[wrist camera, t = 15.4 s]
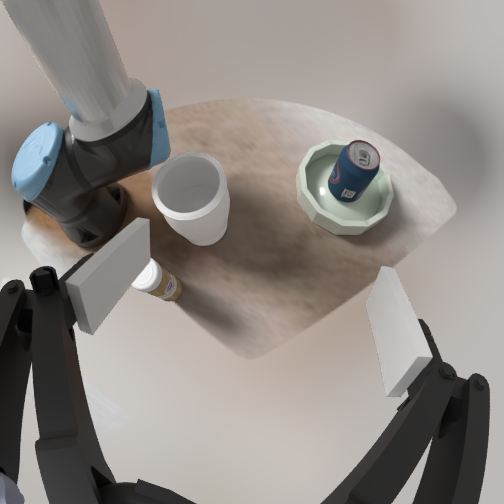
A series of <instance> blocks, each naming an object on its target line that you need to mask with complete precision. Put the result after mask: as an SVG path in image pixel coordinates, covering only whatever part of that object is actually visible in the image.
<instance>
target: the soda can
mask: <svg viewBox="0 0 504 504" xmlns="http://www.w3.org/2000/svg"><path fill="white" fill-rule="evenodd" d="M379 168H380V155H379V153H378V151H377V150H376V148H375V147H374V146H372V145H371V144H370V143H368V142H365V141H362V140H355V141H352V142H351V143H350V144H348V145H346V146H345V147H344V148H343V149H342V151H341V153H340V155H339V157H338V159H337V162H336V164H335V166H334V168H333V170H332V172H331V174H330V176H329V179H328V188H329V190H330V192H331V194H332V195H333V196H334V197H335V198H336V199H337V200H339V201H341V202H346V203H350V202H354V201H356V200H358V199H359V198H360V197H361V195H362V194H363V193H364V191H365V190H366V188H367V187H368V186H369V184H370V183H371V182H372V180H373V179H374V177H375V176H376V175H377V173H378V172H379Z"/></svg>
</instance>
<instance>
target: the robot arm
mask: <svg viewBox="0 0 504 504" xmlns="http://www.w3.org/2000/svg"><path fill="white" fill-rule="evenodd" d="M2 2H3V4H4V6H5V8H6V10H7V12H8V13H9V15H10V17H11V19H12V21H13V22H14V24H15V26H16V28H17V29H18V31H19V33H20V35H21V36H22V38H23V40H24V42H25V43H26V45H27V47H28V48H29V50H30V52H31V53H32V55H33V56H34V58H35V60H36V61H37V63H38V65H39V66H40V68H41V69H42V71H43V72H44V74H45V75H46V77H47V78H48V80H49V82H50V83H51V85H52V86H53V88H54V89H55V91H56V92H57V94H58V95H59V96H60V98H61V100H62V101H63V102H64V104H65V105H66V107H67V108H68V110H69V111H70V112H71V114H72V115H71V118H70V122H69V126H68V127H66V128H64V129H62V128H61V126H60V125H59V124H56V123H52V122H49V123H45V124H43V125H42V126H40V127H39V128H37V129H36V130H35V131H34V132H33V133H32V134H31V135H30V136H29V137H28V138H27V139H26V141H25V142H24V143H23V145H22V147H21V149H20V150H19V152H18V154H17V156H16V159H15V161H14V165H13V169H12V183H13V186H14V188H15V190H16V191H17V192H18V193H19V194H20V195H22V196H23V198H24V199H25V200H26V201H28V202H29V203H31V204H32V205H34V206H35V207H37V208H38V209H40V210H41V211H43V212H44V213H46V214H47V215H49V216H51V217H52V218H54V219H55V220H57V221H58V222H59V224H60V226H61V228H62V229H63V231H64V233H65V234H66V236H67V237H68V238H69V239H70V240H71V241H72V242H74V243H76V244H77V245H79V246H82V247H95V246H98V245H101V244H103V243H104V242H106V241H107V240H109V239H110V238H111V237H112V236H113V235H114V234H115V233H116V231H117V230H118V229H119V227H120V225H121V224H122V222H123V219H124V216H125V213H126V206H127V201H126V195H125V193H124V191H123V189H122V187H121V186H120V185H119V184H118V183H117V181H119V180H122V179H124V178H127V177H129V176H132V175H134V174H137V173H140V172H143V171H145V170H149V169H151V168H152V167H153V166H156V165H158V164H160V163H163V162H165V161H166V160H167V159H168V158H169V156H170V152H171V149H170V142H169V137H168V131H167V126H166V123H165V117H164V111H163V106H162V101H161V97H160V93H159V90H158V89H148V90H147V89H146V87H145V85H144V84H143V82H142V81H140V80H138V79H136V78H131V77H129V76H128V74H127V71H126V69H125V67H124V64H123V62H122V59H121V57H120V54H119V52H118V49H117V47H116V44H115V42H114V39H113V37H112V34H111V32H110V29H109V27H108V24H107V21H106V18H105V16H104V13H103V10H102V8H101V5H100V2H99V0H2ZM150 261H151V257H150V225H149V219H145V218H139V217H138V218H136V219H135V220H134V221H133V222H131V223H130V224H129V225H128V226H127V227H125V228H124V229H123V230H122V231H121V232H119V233H118V234H117V235H116V236H115V237H114V238H112V239H111V240H110V241H109V242H108V243H107V244H105V245H104V246H103V247H102V248H101V249H100V250H99V251H98V252H96V253H95V254H93V253H91V254H89V255H87V256H85V257H83V258H82V259H81V260H79V261H78V262H77V264H75V265H74V266H73V267H72V269H69V270H68V271H67V272H66V273H65V274H64V275H63V276H62V277H61V278H60V279H59V280H58V278H57V274H56V270H55V269H54V268H53V267H50V266H43V267H40V268H37V269H36V270H34V271H33V272H32V273H31V274H30V277H29V278H30V281H31V284H32V287H33V290H28V289H25V286H24V283H23V282H22V281H21V280H17V279H16V280H11V281H9V282H8V283H6V284H5V285H4V286H3V288H2V289H1V291H0V504H24V497H23V495H22V494H21V493H20V491H19V489H18V486H17V481H18V474H19V463H20V442H21V428H22V418H23V409H24V402H25V395H26V389H27V383H28V378H29V373H30V368H31V363H32V371H33V387H34V398H35V407H36V415H37V421H38V428H39V435H40V438H39V440H37V441H36V442H35V450H36V455H37V461H38V465H39V469H40V473H41V477H42V481H43V484H44V488H45V491H46V494H47V497H48V500H49V504H196V503H194V502H192V501H190V500H188V499H186V498H184V497H182V496H180V495H178V494H177V493H175V492H173V491H171V490H169V489H166V488H163V487H160V486H157V485H154V484H151V483H148V482H145V481H143V480H140V479H138V481H137V483H130V482H129V483H128V482H123V483H116V481H115V478H114V476H113V474H112V472H111V470H110V468H109V467H108V465H107V463H106V461H105V459H104V456H103V454H102V451H101V448H100V445H99V442H98V439H97V435H96V432H95V429H94V426H93V422H92V418H91V415H90V411H89V407H88V403H87V399H86V395H85V391H84V386H83V381H82V376H81V371H80V367H79V360H78V354H77V348H76V341H75V333H74V329H73V325H74V324H75V322H76V321H77V323H78V326H79V329H80V330H81V331H83V332H86V333H88V334H91V335H93V334H94V333H95V331H96V330H97V329H98V327H99V326H100V325H101V323H102V322H103V320H104V319H105V318H106V317H107V315H108V313H110V311H111V310H112V309H113V307H114V306H115V305H116V303H117V302H118V301H119V300H120V298H121V297H122V296H123V295H124V293H125V292H126V291H127V289H128V288H129V287H130V286H131V284H132V283H133V282H134V281H135V279H136V278H137V277H138V276H139V275H140V273H141V272H142V271H143V270H144V268H145V267H146V266H147V265H148V264H149V262H150ZM365 306H366V309H367V313H368V317H369V321H370V325H371V329H372V333H373V337H374V341H375V345H376V349H377V354H378V359H379V363H380V368H381V373H382V378H383V383H384V388H385V394H386V397H401V395H402V394H403V393H404V392H405V391H406V390H408V395H409V396H408V398H407V399H406V400H405V401H404V402H403V403H402V404H401V405H400V406H399V407H398V408H397V410H398V412H397V413H396V415H395V416H394V418H393V419H392V421H391V422H390V423H389V425H388V426H387V428H386V429H385V430H384V432H383V433H382V434H381V436H380V437H379V438H378V440H377V441H376V443H375V444H374V445H373V446H372V448H371V449H370V450H369V451H368V453H367V454H366V455H365V456H364V458H363V459H362V460H361V461H360V462H359V464H358V465H357V466H356V467H355V468H354V469H353V470H352V472H351V473H350V474H349V475H348V476H347V477H346V478H345V479H344V480H343V482H342V483H341V484H340V485H339V486H338V487H337V488H336V489H335V490H334V491H333V492H332V493H331V494H330V495H329V496H328V497H327V498H326V499H325V500H324V501H323V502H322V503H321V504H391V503H392V502H393V501H394V499H395V498H396V496H397V495H398V494H399V492H400V491H401V489H402V488H403V486H404V485H405V483H406V482H407V480H408V479H409V477H410V475H411V474H412V472H413V471H414V469H415V467H416V465H417V464H418V462H419V460H420V459H421V457H422V455H423V453H424V452H425V450H426V448H427V446H428V444H429V442H430V440H431V438H432V437H433V438H432V442H431V446H430V451H429V454H428V458H427V462H426V465H425V468H424V472H423V475H422V478H421V481H420V484H419V487H418V490H417V493H416V495H415V498H414V501H413V503H412V504H478V502H479V498H480V493H481V488H482V483H483V477H484V472H485V464H486V457H487V448H488V436H489V418H490V417H489V416H490V389H489V384H488V382H487V380H486V379H485V377H483V376H482V375H480V374H477V373H475V374H472V375H471V377H470V378H469V379H468V380H466V379H463V378H460V377H457V374H456V371H455V370H454V368H453V367H452V366H451V365H449V364H448V363H446V362H443V361H442V359H441V356H440V354H439V351H438V348H437V346H436V344H435V342H434V339H433V337H432V336H431V332H430V330H429V327H428V326H427V324H426V323H425V322H424V321H423V320H422V319H417V317H416V314H415V312H414V310H413V307H412V305H411V303H410V301H409V299H408V297H407V294H406V292H405V290H404V288H403V286H402V284H401V282H400V280H399V278H398V276H397V274H396V272H395V270H394V268H392V267H387V266H382V267H381V269H380V271H379V274H378V276H377V279H376V281H375V283H374V286H373V288H372V290H371V292H370V295H369V297H368V299H367V301H366V304H365Z"/></svg>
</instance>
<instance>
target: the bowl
mask: <svg viewBox="0 0 504 504" xmlns="http://www.w3.org/2000/svg"><path fill="white" fill-rule="evenodd" d="M350 143H351V142H347V141H336V140H328V141H326V142H324V143H321V144H319V145H317V146H314V147H312V148H310V149H309V151H308V153H307V154H306V156H305V158H304V159H303V161H302V163H301V164H300V166H299V169H298V173H297V177H296V185H297V199H298V202H299V204H300V205H301V206H302V208H303V209H304V211H305V212H306V214H307V215H308V217H309V218H310V220H311V221H312V222H313V223H315V224H317V225H319V226H320V227H322V228H324V229H326V230H328V231H330V232H331V233H333V234H335V235H360V234H362V233H363V232H365V231H367V230H368V229H370V228H371V227H373V226H374V225H376V224H377V223H378V222H380V221H381V220H382V219H383V218H384V217H385V216H386V215H387V213H388V210H389V207H390V204H391V202H392V199H393V196H394V193H393V188H392V184H391V179H390V175H389V172H388V171H387V170H386V168H385V167H384V166H383V164H382V163H381V162H380V168H379V172H378V173H377V175H376V176H375V177H374V179H373V180H372V182H371V183H370V184H369V186H368V187H367V188H366V190H365V191H364V193H363V194H362V195H361V197H360V198H359V199H358V200H356V201H354V202H350V203H346V202H341V201H339V200H337V199H336V198H335V197H334V196H333V195H332V194H331V192H330V190H329V188H328V179H329V176H330V174H331V172H332V170H333V168H334V166H335V164H336V162H337V159H338V157H339V155H340V153H341V151H342V149H343V148H344V147H345V146H346V145H348V144H350Z"/></svg>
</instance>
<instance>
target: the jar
mask: <svg viewBox="0 0 504 504" xmlns="http://www.w3.org/2000/svg"><path fill="white" fill-rule="evenodd" d="M152 197H153V201H154V203H155V205H156V206H157V208H158V209H159V210H160V212H161V213H162V214H163V215H164V217H165V219H166V221H167V222H168V224H169V225H170V226H171V227H172V228H173V229H174V230H175V231H176V232H178V233H179V234H181V235H182V236H184V237H185V238H187V239H188V240H189V241H190V242H191V243H193V244H195V245H199V246H207V245H211V244H214V243H216V242H217V241H218V240H220V239H221V238H222V236H223V235H224V233H225V231H226V229H227V220H228V215H229V210H230V197H229V192H228V189H227V180H226V175H225V172H224V169H223V167H222V166H221V164H220V163H219V162H218V161H217V160H216V159H215V158H213V157H211V156H210V155H207V154H204V153H200V152H187V153H182V154H179V155H177V156H174V157H172V158H171V159H169V160H168V161H167V162H165V163H164V164H163V165H162V166H161V167H160V169H159V170H158V171H157V173H156V175H155V177H154V180H153V183H152Z"/></svg>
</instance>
